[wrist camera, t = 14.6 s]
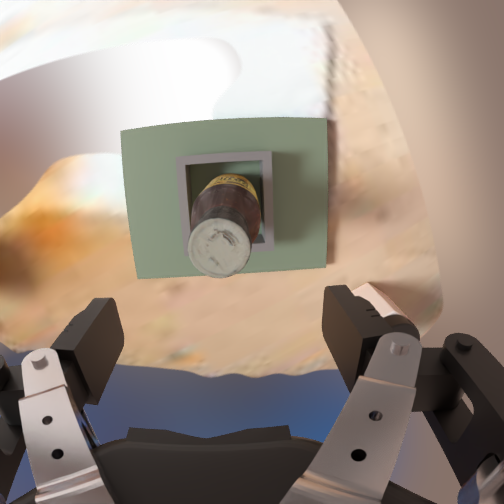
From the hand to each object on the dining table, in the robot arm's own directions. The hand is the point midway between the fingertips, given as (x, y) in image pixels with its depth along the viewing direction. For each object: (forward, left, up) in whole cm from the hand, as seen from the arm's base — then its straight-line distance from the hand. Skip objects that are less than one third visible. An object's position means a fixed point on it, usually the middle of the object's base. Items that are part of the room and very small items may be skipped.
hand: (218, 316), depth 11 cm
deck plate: (0, 0, -29) cm, 29 cm away
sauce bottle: (0, 0, -28) cm, 28 cm away
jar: (-20, +18, -30) cm, 40 cm away
